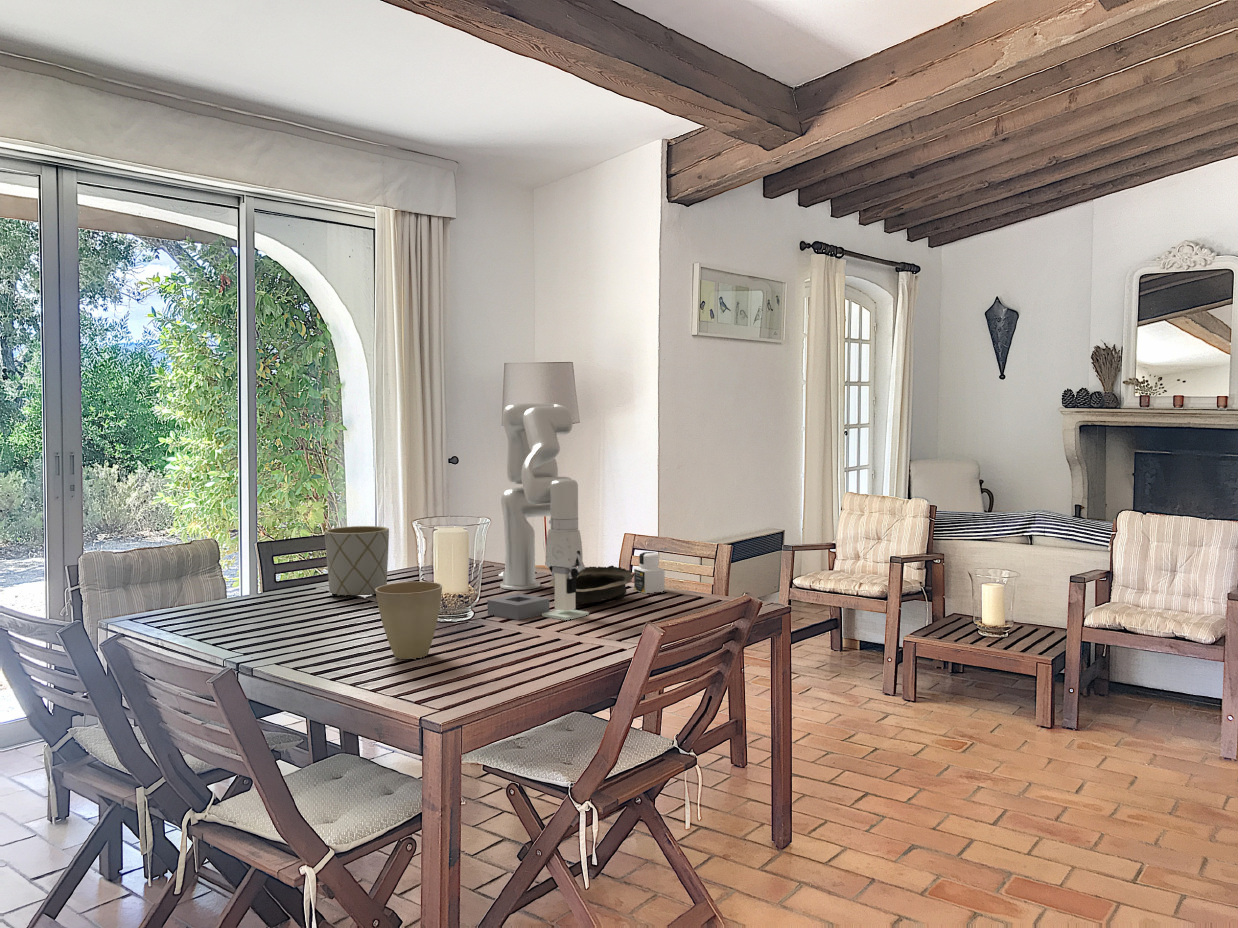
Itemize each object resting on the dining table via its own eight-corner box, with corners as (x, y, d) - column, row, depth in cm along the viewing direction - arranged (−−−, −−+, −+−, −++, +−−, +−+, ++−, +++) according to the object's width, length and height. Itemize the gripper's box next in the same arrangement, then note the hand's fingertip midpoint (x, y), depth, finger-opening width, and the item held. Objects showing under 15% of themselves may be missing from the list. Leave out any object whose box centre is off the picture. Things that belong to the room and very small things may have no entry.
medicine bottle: (633, 590, 300) (633, 551, 299) (654, 588, 303) (654, 550, 302) (644, 594, 294) (643, 554, 293) (665, 592, 296) (664, 553, 296)
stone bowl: (637, 593, 294) (637, 563, 293) (630, 616, 270) (630, 584, 268) (557, 591, 297) (556, 561, 295) (542, 614, 272) (542, 582, 271)
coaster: (542, 616, 263) (542, 613, 263) (564, 610, 270) (564, 607, 270) (566, 620, 257) (566, 617, 257) (588, 614, 264) (588, 611, 264)
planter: (313, 598, 291) (311, 532, 290) (348, 587, 309) (347, 525, 308) (369, 601, 285) (367, 534, 284) (401, 590, 304) (400, 526, 303)
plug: (553, 608, 263) (552, 566, 263) (564, 606, 267) (564, 564, 266) (565, 611, 260) (565, 568, 260) (577, 608, 264) (576, 566, 263)
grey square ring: (487, 614, 266) (487, 599, 266) (519, 607, 275) (518, 593, 275) (518, 620, 258) (518, 605, 258) (549, 612, 267) (549, 598, 267)
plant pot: (415, 644, 231) (414, 578, 230) (457, 654, 222) (455, 585, 221) (363, 657, 220) (361, 588, 219) (404, 668, 210) (403, 595, 209)
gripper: (532, 524, 265) (533, 590, 266) (577, 528, 254) (578, 597, 255) (551, 521, 270) (552, 586, 271) (596, 525, 260) (597, 593, 261)
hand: (565, 591), depth 263 cm, fingers closed on plug, 4 cm apart
